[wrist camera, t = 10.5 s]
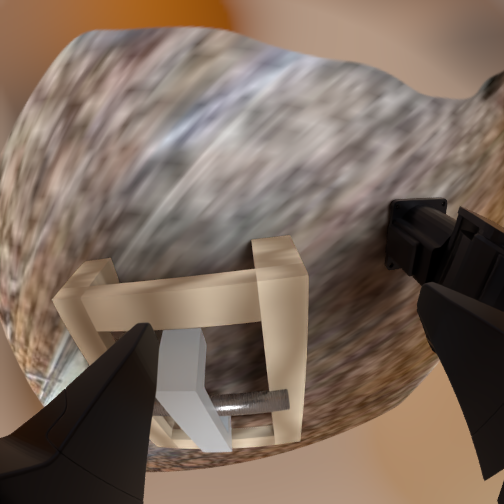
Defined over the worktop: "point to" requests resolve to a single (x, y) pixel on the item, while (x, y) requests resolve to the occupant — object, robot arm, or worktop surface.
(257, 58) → the worktop surface
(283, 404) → the rod
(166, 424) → the shelf
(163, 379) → the long white beam
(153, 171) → the worktop surface
